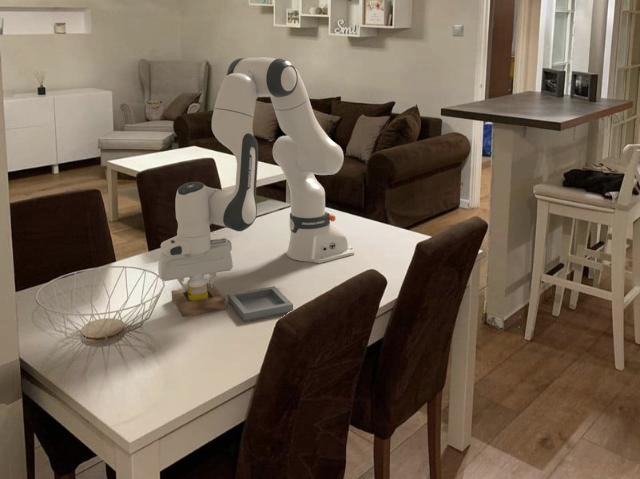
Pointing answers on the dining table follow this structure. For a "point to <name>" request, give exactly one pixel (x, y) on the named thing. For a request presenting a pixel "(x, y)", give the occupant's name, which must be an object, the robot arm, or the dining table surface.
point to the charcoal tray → (259, 303)
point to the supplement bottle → (197, 288)
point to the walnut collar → (198, 302)
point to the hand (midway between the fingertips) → (197, 289)
